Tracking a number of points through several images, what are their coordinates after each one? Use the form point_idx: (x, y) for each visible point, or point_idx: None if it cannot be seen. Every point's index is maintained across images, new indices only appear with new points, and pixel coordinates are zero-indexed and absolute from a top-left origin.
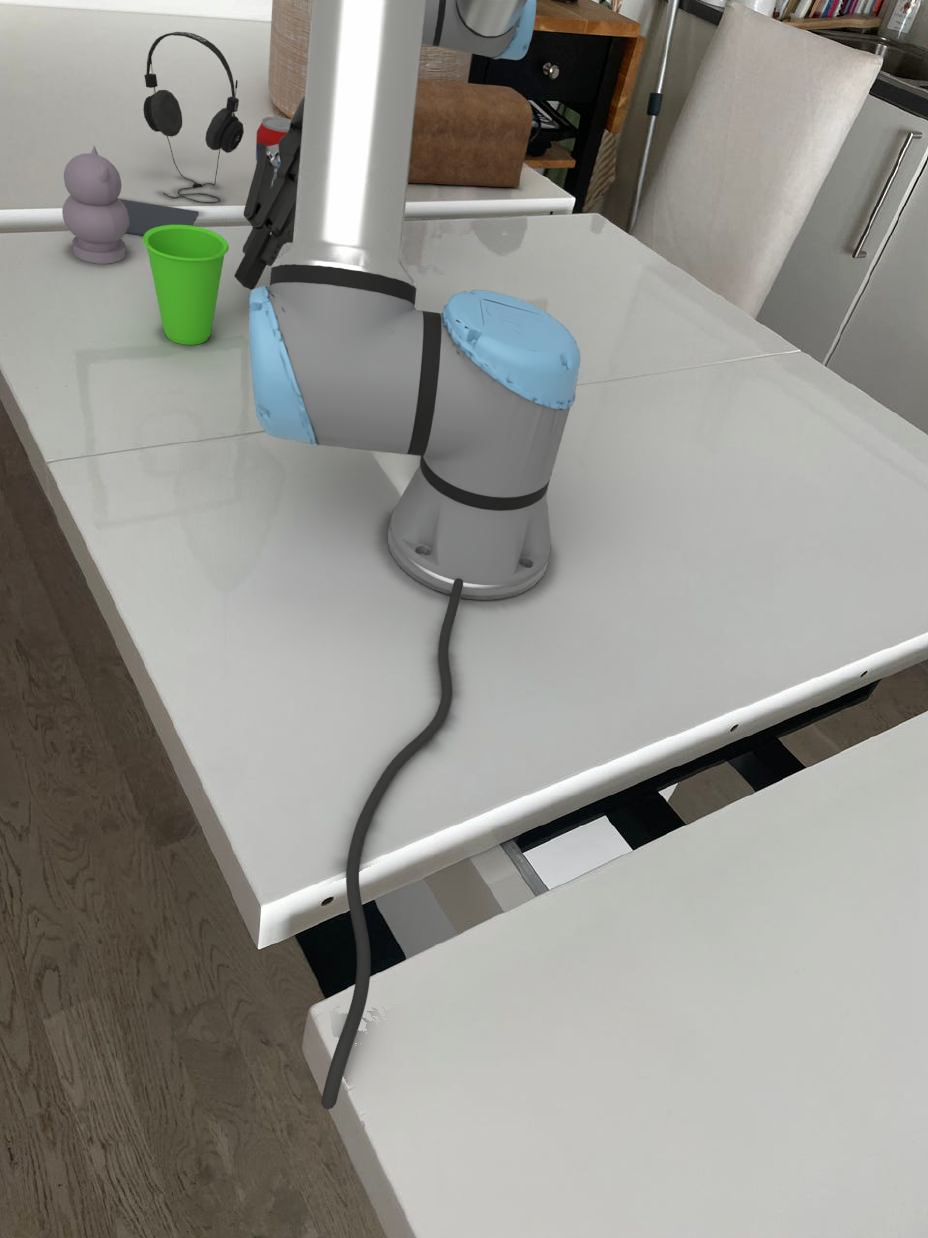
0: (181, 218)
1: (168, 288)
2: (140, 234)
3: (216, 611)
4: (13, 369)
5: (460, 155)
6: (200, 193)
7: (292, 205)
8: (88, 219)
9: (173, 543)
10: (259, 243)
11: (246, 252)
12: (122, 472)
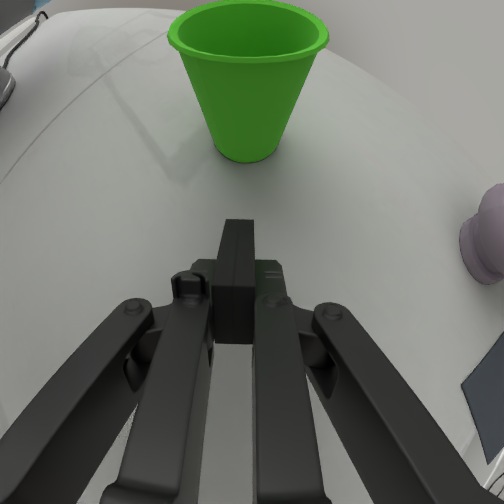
0: (493, 428)
1: (242, 49)
2: (497, 340)
3: (83, 23)
4: None
5: None
6: (500, 492)
7: (147, 384)
8: (499, 185)
9: (111, 23)
10: (226, 260)
11: (252, 243)
12: (160, 23)
